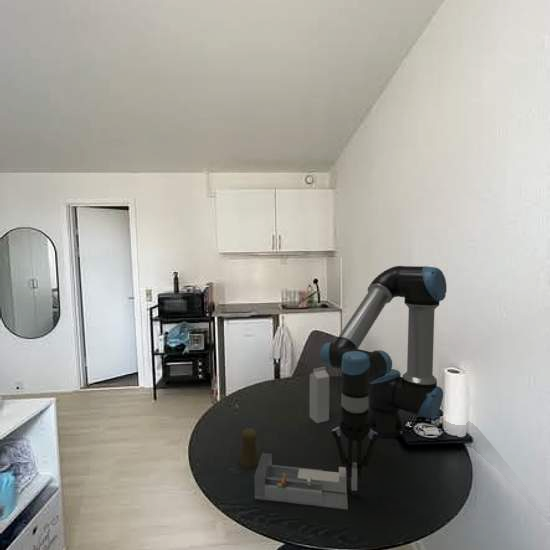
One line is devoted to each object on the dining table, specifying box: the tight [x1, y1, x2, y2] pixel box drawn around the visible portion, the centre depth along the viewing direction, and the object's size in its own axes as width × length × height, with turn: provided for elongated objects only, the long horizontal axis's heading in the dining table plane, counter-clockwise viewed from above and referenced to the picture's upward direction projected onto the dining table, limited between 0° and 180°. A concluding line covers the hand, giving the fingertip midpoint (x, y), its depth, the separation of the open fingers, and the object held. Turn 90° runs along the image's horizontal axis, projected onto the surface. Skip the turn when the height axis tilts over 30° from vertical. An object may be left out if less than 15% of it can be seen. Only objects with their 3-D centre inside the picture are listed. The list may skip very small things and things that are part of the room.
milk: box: [309, 366, 330, 424], centre depth 144 cm, size 6×6×22 cm
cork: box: [239, 428, 259, 469], centre depth 114 cm, size 6×6×11 cm
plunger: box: [297, 466, 347, 493], centre depth 100 cm, size 14×7×5 cm, turn 80°
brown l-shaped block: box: [277, 473, 286, 486], centre depth 97 cm, size 2×4×5 cm, turn 171°
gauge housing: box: [254, 452, 349, 510], centre depth 101 cm, size 26×11×7 cm, turn 80°
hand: (354, 487), depth 98 cm, fingers closed
